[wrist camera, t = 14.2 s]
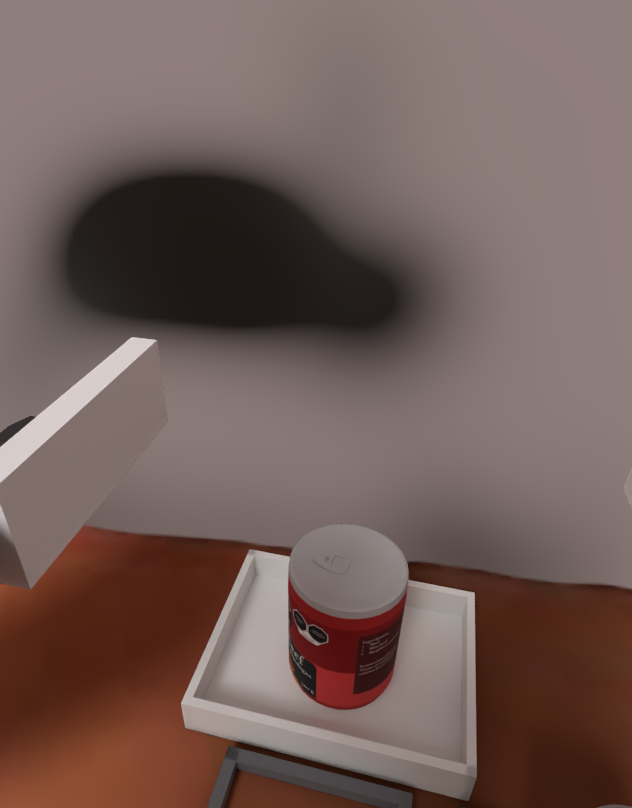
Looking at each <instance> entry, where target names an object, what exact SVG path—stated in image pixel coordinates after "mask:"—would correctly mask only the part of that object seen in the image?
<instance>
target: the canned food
mask: <svg viewBox="0 0 632 808" xmlns="http://www.w3.org/2000/svg"><path fill="white" fill-rule="evenodd" d="M408 573H409V570H408V564H407V561H406V559H405V556H404V554H403V553H402V551H401V550H400V548H399V547H398V546H397V545H396V544H395V543H394V542H393V541H392V540H391V539H389V538H388V537H386V536H385V535H383V534H381V533H380V532H377V531H375V530H373V529H370V528H367V527H364V526H360V525H354V524H332V525H327V526H323V527H320V528H318V529H315V530H313V531H311V532H309V533H308V534H306V535H304V536H303V537H302V538H301V539H300V540H299V541H298V542H297V543H296V545H295V546H294V548H293V550H292V553H291V556H290V561H289V570H288V634H289V664H290V669H291V671H292V674H293V676H294V678H295V680H296V682H297V683H298V685H299V686H300V688H301V689H302V691H303V692H304V693H305V694H306V695H307V696H308V697H309V698H311V699H312V700H314V701H315V702H317V703H319V704H321V705H323V706H325V707H328V708H333V709H337V710H351V709H358V708H361V707H363V706H366V705H368V704H370V703H371V702H373V701H375V700H376V699H377V698H378V697H379V696H380V695H381V694H382V693H383V692H384V690H385V689H386V688H387V686H388V685H389V683H390V681H391V678H392V676H393V672H394V666H395V661H396V655H397V649H398V643H399V637H400V631H401V626H402V620H403V614H404V608H405V602H406V596H407V588H408V579H409V576H408Z"/></svg>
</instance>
